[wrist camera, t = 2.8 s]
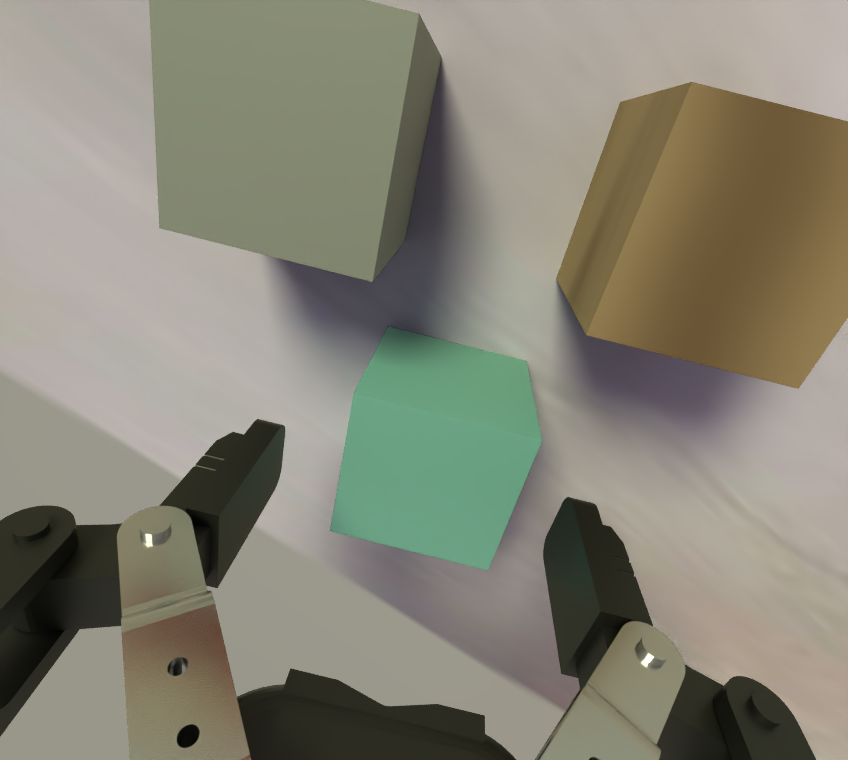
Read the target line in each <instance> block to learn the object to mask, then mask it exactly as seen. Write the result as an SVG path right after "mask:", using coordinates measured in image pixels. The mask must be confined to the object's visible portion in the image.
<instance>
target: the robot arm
mask: <svg viewBox="0 0 848 760" xmlns="http://www.w3.org/2000/svg"><path fill="white" fill-rule="evenodd" d="M284 439H285V426H284V425H280V424H276V423H272V422H268V421H264V420H260V419H257V420H256V421H255V422H254V423H253V424H252V425H251V427H250V428H249V429H248V430H247V432H246V433H245V434H244V435H243V434H239V433H235V432H232V433H230V434H228V435H226V436H225V437H223V438H221V439H219V440H217V441H216V442H215V443H214V444H213V445H212V446H211V447H210V448H209V450H208V451H207V452H206V453H205V456H203V457H202V458H201V459H200V460H199V461H198V462H197V463H196V466H195V467H193V468H192V469H191V470H190V471H189V473H188V474H187V475H186V476H185V477H184V478H183V479H182V481H181V482H180V483H179V484H178V485H177V486H176V487H175V489H174V490H173V491H172V492H171V493H170V494H169V496H168V497H167V498H166V499H165V500H164V501H163V503H162V504H161V505H160V506H156V507H150V508H146V509H144V510H141V511H139V512H137V513H135V514H133V515H132V516H130V517H129V518H128V519H126V520H125V521H124V522H123V523H122V524H112V525H76V523H75V519H74V516H73V515H72V513H71V512H69V511H68V510H66V509H64V508H61V507H58V506H36V507H31V508H27V509H23V510H20V511H18V512H15V513H13V514H11V515H9V516H7V517H5V518H4V519H2V520H1V521H0V736H1V735H2V734H3V732H4V731H5V729H6V728H7V727H8V725H9V724H10V723H11V721H12V720H13V719H14V717H15V716H16V715H17V713H18V712H19V711H20V709H21V708H22V707H23V705H24V704H25V702H26V701H27V700H28V698H29V697H30V696H31V694H32V693H33V692H34V690H35V689H36V688H37V686H38V685H39V684H40V682H41V681H42V679H43V678H44V677H45V675H46V674H47V673H48V671H49V670H50V668H51V667H52V666H53V665H54V663H55V662H56V660H57V659H58V658H59V656H60V655H61V654H62V652H63V651H64V650H65V648H66V647H67V646H68V644H69V643H70V641H71V640H72V639H73V638H74V636H75V635H76V633H77V632H78V631H79V629H86V628H98V627H110V626H121V629H122V645H123V661H124V677H125V693H126V708H127V725H128V740H129V756H130V760H516V759H515V758H514V757H513V756H512V755H511V754H510V753H509V752H508V751H507V750H506V749H505V748H504V747H503V746H502V745H500V744H499V743H498V742H496V741H495V740H494V739H492V738H491V737H489V736H487V735H486V734H485V716H484V715H480V714H476V713H472V712H467V711H463V710H459V709H455V708H451V707H447V706H442V705H439V704H431V705H410V706H384V705H382V704H380V703H378V702H376V701H374V700H373V699H371V698H369V697H367V696H366V695H364V694H362V693H360V692H358V691H357V690H355V689H353V688H351V687H350V686H348V685H346V684H344V683H342V682H341V681H339V680H336V679H332V678H327V677H323V676H319V675H315V674H311V673H307V672H303V671H299V670H295V669H290V671H289V674H288V677H287V680H286V683H285V684H284V685H273V686H267V687H262V688H259V689H256V690H252V691H249V692H247V693H245V694H242V695H240V696H238V697H237V696H236V692H235V688H234V684H233V679H232V675H231V671H230V666H229V662H228V658H227V654H226V649H225V645H224V640H223V636H222V632H221V627H220V623H219V619H218V615H217V610H216V606H215V601H214V598H213V595H212V592H211V591H207V587H206V586H211V587H215V588H218V586H219V584H220V583H221V581H222V579H223V578H224V576H225V574H226V572H227V570H228V569H229V567H230V565H231V564H232V562H233V560H234V559H235V557H236V555H237V554H238V552H239V550H240V548H241V547H242V545H243V543H244V542H245V540H246V538H247V536H248V535H249V533H250V531H251V529H252V528H253V526H254V524H255V523H256V521H257V519H258V518H259V516H260V514H261V512H262V511H263V509H264V507H265V506H266V504H267V502H268V500H269V499H270V497H271V495H272V494H273V492H274V490H275V488H276V486H277V483H278V480H279V477H280V473H281V467H282V458H283V448H284ZM543 558H544V565H545V571H546V578H547V584H548V591H549V597H550V603H551V610H552V616H553V623H554V629H555V636H556V642H557V648H558V655H559V661H560V668H561V674H564V675H568V676H572V677H576V678H578V679H579V684H580V690H579V691H578V693H577V694H576V696H575V697H574V699H573V701H572V702H571V704H570V705H569V707H568V708H567V710H566V712H565V713H564V715H563V717H562V718H561V720H560V721H559V723H558V724H557V726H556V727H555V729H554V731H553V732H552V734H551V735H550V737H549V738H548V740H547V742H546V743H545V745H544V746H543V748H542V750H541V751H540V753H539V754H538V756H537V757H536V759H535V760H816V758H815V756H814V754H813V752H812V750H811V748H810V746H809V744H808V742H807V740H806V738H805V736H804V734H803V732H802V730H801V728H800V726H799V724H798V722H797V721H796V719H795V717H794V715H793V714H792V712H791V711H790V710H789V708H788V707H787V706H786V705H785V703H784V702H783V701H782V700H781V699H780V698H779V697H778V696H777V695H776V694H774V693H773V692H772V691H771V690H770V689H768V688H767V687H766V686H764V685H762V684H761V683H759V682H757V681H755V680H753V679H750V678H748V677H743V676H736V677H733V678H731V679H730V680H729V681H728V682H727V683H726V684H725V685H724V686H723V685H721V684H719V683H717V682H716V681H714V680H712V679H710V678H708V677H706V676H704V675H703V674H701V673H699V672H697V671H695V670H693V669H692V668H690V667H688V666H687V665H685V664H684V661H683V658H682V656H681V654H680V652H679V650H678V649H677V647H676V646H675V645H674V644H673V642H672V641H671V640H670V639H669V638H668V637H667V636H666V635H665V634H663V633H662V632H661V631H659V630H658V629H656V628H655V627H653V624H652V621H651V619H650V616H649V613H648V610H647V608H646V605H645V602H644V599H643V596H642V594H641V591H640V588H639V585H638V582H637V580H636V577H634V571H633V569H632V566H631V563H629V557H628V555H627V552H626V549H625V546H624V544H623V542H622V541H621V539H620V538H619V537H618V536H617V534H616V533H615V532H614V530H613V529H612V528H611V527H609V526H605V525H603V524H602V521H601V518H600V515H599V511H598V508H597V506H596V505H595V504H594V503H590V502H586V501H582V500H578V499H574V498H570V497H567V498H566V499H565V500H564V501H563V503H562V505H561V507H560V509H559V511H558V513H557V515H556V518H555V520H554V522H553V524H552V526H551V528H550V530H549V532H548V534H547V536H546V539H545V543H544V550H543Z"/></svg>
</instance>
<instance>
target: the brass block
mask: <svg viewBox="0 0 848 760" xmlns="http://www.w3.org/2000/svg"><path fill="white" fill-rule="evenodd" d="M556 280H557V281H558V283H559V285H560V287H561V289H562V291H563V293H564V295H565V296H566V298H567V300H568V302H569V304H570V306H571V308H572V310H573V311H574V313H575V315H576V317H577V319H578V321H579V323H580V325H581V327H582V328H583V330H584V332H585V334H586V335H587V336H591V337H595V338H599V339H603V340H607V341H611V342H615V343H619V344H623V345H627V346H631V347H635V348H639V349H643V350H647V351H651V352H655V353H659V354H663V355H667V356H671V357H675V358H679V359H683V360H687V361H691V362H695V363H699V364H703V365H706V366H710V367H714V368H718V369H722V370H726V371H730V372H734V373H738V374H742V375H746V376H750V377H754V378H758V379H762V380H766V381H770V382H774V383H778V384H782V385H786V386H790V387H794V388H798V389H799V387H800V386H801V384H802V383H803V381H804V380H805V379H806V377H807V376H808V374H809V373H810V371H811V370H812V368H813V367H814V366H815V364H816V363H817V361H818V360H819V358H820V357H821V355H822V354H823V353H824V351H825V350H826V348H827V347H828V345H829V344H830V342H831V341H832V340H833V338H834V337H835V335H836V334H837V332H838V331H839V329H840V328H841V326H842V325H843V324H844V322H845V321H846V319H847V318H848V121H844V120H840V119H836V118H832V117H828V116H824V115H820V114H816V113H812V112H808V111H804V110H800V109H796V108H792V107H788V106H784V105H781V104H777V103H773V102H769V101H765V100H761V99H757V98H753V97H749V96H745V95H741V94H737V93H733V92H729V91H725V90H721V89H717V88H713V87H709V86H706V85H702V84H698V83H694V82H690V83H687V84H683V85H680V86H676V87H673V88H669V89H665V90H662V91H658V92H655V93H651V94H648V95H644V96H641V97H637V98H634V99H630V100H626V101H623V102H620V104H619V107H618V110H617V113H616V115H615V118H614V121H613V124H612V127H611V129H610V132H609V135H608V138H607V140H606V143H605V146H604V149H603V151H602V154H601V157H600V160H599V162H598V165H597V168H596V171H595V173H594V176H593V179H592V182H591V184H590V187H589V190H588V193H587V195H586V198H585V201H584V204H583V206H582V209H581V212H580V215H579V217H578V220H577V223H576V226H575V228H574V231H573V234H572V237H571V240H570V242H569V245H568V248H567V251H566V253H565V256H564V259H563V262H562V264H561V267H560V270H559V273H558V275H557V278H556Z"/></svg>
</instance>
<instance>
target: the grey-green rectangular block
mask: <svg viewBox="0 0 848 760" xmlns="http://www.w3.org/2000/svg"><path fill="white" fill-rule="evenodd" d="M149 4H150V26H151V48H152V71H153V93H154V116H155V138H156V161H157V183H158V205H159V228H161V229H165V230H169V231H173V232H177V233H181V234H185V235H189V236H193V237H197V238H201V239H205V240H209V241H213V242H217V243H220V244H224V245H228V246H232V247H236V248H240V249H244V250H248V251H252V252H256V253H260V254H264V255H268V256H272V257H276V258H280V259H284V260H288V261H292V262H295V263H299V264H303V265H307V266H311V267H315V268H319V269H323V270H327V271H331V272H335V273H339V274H343V275H347V276H351V277H355V278H359V279H363V280H367V281H371V282H373V281H374V279H375V278H376V277H377V276H378V274H379V273H380V272H381V271H382V269H383V268H384V267H385V266H386V264H387V263H388V262H389V260H390V259H391V258H392V257H393V255H394V254H395V253H396V252H397V250H398V249H399V248H400V247H401V245H402V244H403V243H404V241H405V238H406V233H407V228H408V223H409V218H410V213H411V208H412V203H413V198H414V193H415V188H416V183H417V178H418V173H419V168H420V163H421V158H422V153H423V148H424V143H425V138H426V133H427V128H428V123H429V118H430V113H431V107H432V102H433V97H434V92H435V87H436V82H437V77H438V72H439V67H440V62H441V55H440V53H439V51H438V49H437V47H436V45H435V44H434V42H433V40H432V38H431V36H430V34H429V32H428V30H427V28H426V26H425V24H424V22H423V20H422V18H421V16H420V14H418V13H414V12H410V11H406V10H402V9H398V8H394V7H390V6H386V5H382V4H379V3H375V2H371V1H367V0H149Z"/></svg>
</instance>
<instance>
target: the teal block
mask: <svg viewBox="0 0 848 760" xmlns="http://www.w3.org/2000/svg"><path fill="white" fill-rule="evenodd" d="M541 442H542V437H541V432H540V427H539V422H538V417H537V412H536V407H535V402H534V397H533V392H532V386H531V381H530V376H529V371H528V366H527V361H524V360H520V359H516V358H512V357H508V356H504V355H500V354H496V353H492V352H488V351H484V350H480V349H477V348H473V347H469V346H465V345H461V344H457V343H453V342H449V341H445V340H441V339H437V338H433V337H429V336H425V335H421V334H417V333H413V332H409V331H405V330H401V329H397V328H393V327H389V326H388V327H387V329H386V331H385V333H384V335H383V337H382V339H381V341H380V343H379V345H378V347H377V349H376V351H375V353H374V355H373V357H372V359H371V361H370V363H369V365H368V367H367V369H366V371H365V372H364V374H363V376H362V378H361V380H360V382H359V384H358V386H357V388H356V390H355V392H354V396H353V401H352V407H351V413H350V419H349V424H348V430H347V436H346V442H345V447H344V453H343V459H342V465H341V470H340V476H339V482H338V488H337V493H336V499H335V505H334V511H333V516H332V522H331V528H330V531H332V532H336V533H340V534H344V535H348V536H352V537H356V538H360V539H364V540H368V541H372V542H376V543H380V544H384V545H388V546H392V547H396V548H400V549H404V550H408V551H412V552H416V553H420V554H424V555H428V556H432V557H436V558H440V559H444V560H448V561H452V562H456V563H460V564H464V565H468V566H472V567H476V568H480V569H484V570H488V569H489V567H490V564H491V562H492V559H493V557H494V555H495V552H496V550H497V547H498V545H499V543H500V540H501V538H502V535H503V533H504V531H505V528H506V526H507V524H508V521H509V519H510V516H511V514H512V512H513V509H514V507H515V504H516V502H517V500H518V497H519V495H520V492H521V490H522V488H523V485H524V483H525V480H526V478H527V476H528V473H529V471H530V468H531V466H532V464H533V461H534V459H535V457H536V454H537V452H538V449H539V447H540V445H541Z"/></svg>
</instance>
